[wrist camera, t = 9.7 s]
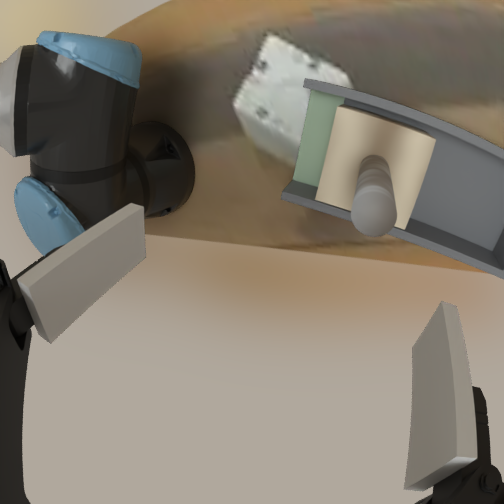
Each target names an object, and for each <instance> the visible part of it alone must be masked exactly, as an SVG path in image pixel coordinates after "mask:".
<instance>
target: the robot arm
mask: <svg viewBox="0 0 504 504" xmlns="http://www.w3.org/2000/svg"><path fill="white" fill-rule="evenodd" d="M36 42H37V43H38V44H36V45H27V46H20V47H19V48H18V49H17V50H16V51H15V52H14V53H13V54H12V55H11V56H10V57H9V58H8V59H7V60H6V61H4V62H3V63H0V146H1V147H3V148H4V149H5V150H6V151H7V152H8V153H9V154H11V155H12V156H13V157H17V156H23V155H30V167H31V174H30V176H27V177H24V178H23V179H22V181H20V182H19V183H18V184H17V186H16V189H15V193H14V201H15V207H16V211H17V214H18V217H19V220H20V222H21V224H22V226H23V228H24V230H25V232H26V234H27V236H28V237H29V239H30V240H31V242H32V243H33V244H34V246H35V247H36V248H37V249H38V250H39V252H40V253H41V254H42V255H43V257H41V258H40V259H38V261H35V262H34V263H33V264H31V265H30V266H29V267H27V268H26V269H24V270H23V271H22V272H20V273H19V274H18V275H16V276H15V277H14V278H12V279H11V280H10V277H9V274H8V271H7V268H6V265H5V263H4V261H3V260H1V259H0V504H30V502H29V500H28V499H27V498H26V495H25V492H24V482H23V463H22V424H23V404H24V403H23V402H24V391H25V390H24V389H25V380H26V371H27V363H28V355H29V348H30V343H31V337H32V333H31V329H30V328H31V327H32V326H33V325H35V327H36V329H37V331H38V334H39V335H40V336H41V337H42V338H44V339H45V340H47V341H48V342H49V343H50V344H51V343H52V342H53V341H54V340H55V339H56V338H57V337H58V336H59V335H60V334H62V333H63V332H64V331H65V330H66V329H67V328H68V327H69V326H70V325H71V324H72V323H73V322H74V321H75V320H76V319H77V318H78V317H79V316H81V315H82V314H83V313H84V312H85V311H86V310H87V309H88V308H89V307H90V306H91V305H93V304H94V303H95V302H96V301H97V300H98V299H99V298H100V297H101V296H102V295H104V294H105V293H106V292H107V291H108V290H109V289H110V288H111V287H113V286H114V285H115V284H116V283H117V282H118V281H119V280H120V279H122V277H124V276H125V275H126V274H127V273H128V272H130V271H131V270H132V269H133V268H134V267H135V266H137V265H138V264H139V263H140V262H141V261H142V260H144V259H145V258H146V250H145V249H146V248H145V228H144V219H148V218H155V217H161V216H165V215H167V214H170V213H171V212H173V211H175V210H176V209H177V208H179V207H180V206H182V205H183V204H184V203H185V202H186V200H187V199H188V197H189V196H190V194H191V191H192V188H193V184H194V175H195V173H194V163H193V159H192V156H191V153H190V151H189V148H188V146H187V145H186V143H185V142H184V140H183V139H182V137H181V136H180V135H179V134H178V133H177V132H176V131H175V130H173V129H172V128H170V127H169V126H167V125H165V124H162V123H159V122H144V123H140V124H137V125H134V126H131V123H132V117H133V111H134V105H135V100H136V95H137V90H138V89H139V87H140V84H139V77H140V70H141V63H142V52H141V50H140V49H139V47H138V46H137V45H135V44H133V43H130V42H126V41H121V40H115V39H110V38H103V37H97V36H90V35H83V34H75V33H66V32H56V31H43V32H41V33H40V35H39V37H38V38H37V41H36ZM412 358H413V359H412V363H413V375H412V376H413V377H412V413H411V428H410V441H409V452H408V461H407V469H406V477H405V484H404V489H405V490H414V491H425V490H426V489H428V488H430V487H432V486H434V487H433V494H432V495H430V496H428V497H426V498H424V499H422V500H420V501H418V502H417V503H415V504H421V503H422V504H504V483H503V482H502V477H501V474H500V472H499V470H498V469H497V468H496V467H495V466H493V465H491V457H490V456H491V454H490V437H489V426H488V416H487V407H486V400H485V398H484V396H483V393H482V391H481V389H480V388H478V387H474V386H472V382H471V375H470V368H469V362H468V357H467V351H466V345H465V340H464V335H463V331H462V326H461V322H460V318H459V313H458V309H457V306H456V305H453V304H449V303H446V302H444V301H441V303H440V304H439V306H438V308H437V310H436V311H435V313H434V315H433V316H432V318H431V319H430V321H429V323H428V324H427V326H426V327H425V329H424V331H423V332H422V334H421V336H420V337H419V338H418V340H417V341H416V343H415V344H414V346H413V348H412Z"/></svg>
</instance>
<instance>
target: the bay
mask: <svg viewBox="0 0 504 504" xmlns="http://www.w3.org/2000/svg"><path fill="white" fill-rule="evenodd" d="M303 87H305V88H309V89H311V94H310V99H309V104H308V109H307V114H306V119H305V124H304V128H303V133H302V138H301V143H300V148H299V152H298V157H297V162H296V167H295V171H294V176H293V180H292V181H291V182H290V183H289V184H288V186H287V187H286V188H285V189H284V190H283V191H282V195H281V199H282V200H285V201H288V202H292V203H295V204H298V205H301V206H305V207H308V208H311V209H314V210H317V211H320V212H324V213H327V214H330V215H333V216H336V217H339V218H342V219H345V220H348V221H351V222H352V219H351V211H349V210H346V209H343V208H340V207H337V206H333V205H330V204H327V203H324V202H321V201H318V200H315V198H316V194H317V190H318V186H319V182H320V178H321V174H322V170H323V166H324V162H325V157H326V153H327V149H328V145H329V140H330V136H331V132H332V128H333V123H334V119H335V114H336V110H337V106H339V105H342V104H346V105H349V106H353V107H356V108H360V109H363V110H367V111H370V112H373V113H376V114H379V115H382V116H385V117H388V118H391V119H394V120H397V121H400V122H403V123H406V124H409V125H411V126H414V127H417V128H419V129H422V130H424V131H426V132H427V133H429V134H430V135H431V136H432V137H434V138H435V139H436V142H435V145H434V149H433V152H432V155H431V158H430V161H429V165H428V168H427V171H426V174H425V177H424V180H423V183H422V185H421V188H420V191H419V194H418V197H417V199H416V202H415V205H414V208H413V210H412V213H411V215H410V218H409V221H408V223H407V226H406V228H405V230H404V229H401V228H398V227H395V226H394V227H393V228H392V230H391V231H389V232H388V233H387V234H389V235H392V236H394V237H397V238H400V239H403V240H406V241H408V242H411V243H414V244H416V245H419V246H422V247H424V248H427V249H430V250H432V251H435V252H438V253H440V254H443V255H445V256H448V257H450V258H453V259H456V260H458V261H461V262H463V263H466V264H468V265H471V266H473V267H475V268H478V269H480V270H483V271H485V272H488V273H490V274H492V275H495V276H497V277H499V278H502V279H504V149H502V148H500V147H498V146H496V145H495V144H493V143H491V142H489V141H487V140H485V139H483V138H481V137H479V136H477V135H474V134H472V133H470V132H468V131H466V130H464V129H461V128H459V127H457V126H455V125H452V124H450V123H448V122H445V121H443V120H441V119H438V118H436V117H433V116H431V115H428V114H426V113H423V112H420V111H418V110H415V109H412V108H410V107H407V106H404V105H401V104H398V103H395V102H392V101H389V100H386V99H383V98H380V97H377V96H373V95H370V94H367V93H363V92H360V91H356V90H353V89H349V88H345V87H342V86H338V85H334V84H330V83H325V82H321V81H317V80H312V79H306V78H305V80H304V85H303Z"/></svg>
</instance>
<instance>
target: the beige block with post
mask: <svg viewBox="0 0 504 504" xmlns="http://www.w3.org/2000/svg"><path fill="white" fill-rule="evenodd" d="M435 142H436V139H435V138H434V137H432V136H431V135H430V134H429V133H427V132H426V131H424V130H422V129H419V128H417V127H414V126H411V125H409V124H406V123H403V122H400V121H397V120H394V119H391V118H388V117H385V116H382V115H379V114H376V113H373V112H370V111H367V110H363V109H360V108H356V107H353V106H349V105H346V104H342V105H339V106H337V110H336V114H335V119H334V123H333V128H332V132H331V136H330V140H329V145H328V149H327V153H326V157H325V162H324V166H323V170H322V174H321V178H320V182H319V186H318V190H317V194H316V198H315V200H318V201H321V202H324V203H327V204H330V205H333V206H337V207H340V208H343V209H346V210H349V211H351V219H352V222H353V224H354V226H355V227H356V228H357V230H359V231H360V232H361V233H363V234H365V235H367V236H372V237H378V236H382V235H385V234H387V233H388V232H389V231H391V230H392V228H393V227H394V226H395V227H398V228H401V229H404V230H405V228H406V226H407V223H408V221H409V218H410V215H411V213H412V210H413V208H414V205H415V202H416V199H417V197H418V194H419V191H420V188H421V185H422V183H423V180H424V177H425V174H426V171H427V168H428V165H429V161H430V158H431V155H432V152H433V149H434V145H435Z"/></svg>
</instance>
